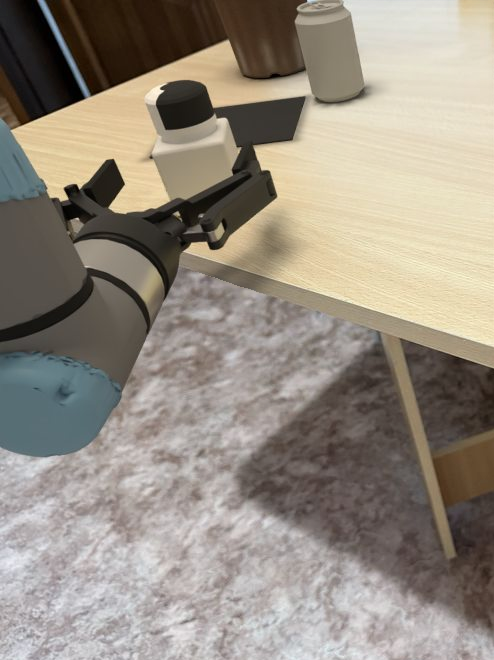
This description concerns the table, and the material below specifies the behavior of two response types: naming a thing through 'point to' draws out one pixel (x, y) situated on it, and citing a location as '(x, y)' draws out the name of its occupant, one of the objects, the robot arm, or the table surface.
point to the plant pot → (263, 35)
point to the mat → (262, 120)
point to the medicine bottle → (189, 139)
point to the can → (329, 50)
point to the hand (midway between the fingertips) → (184, 163)
